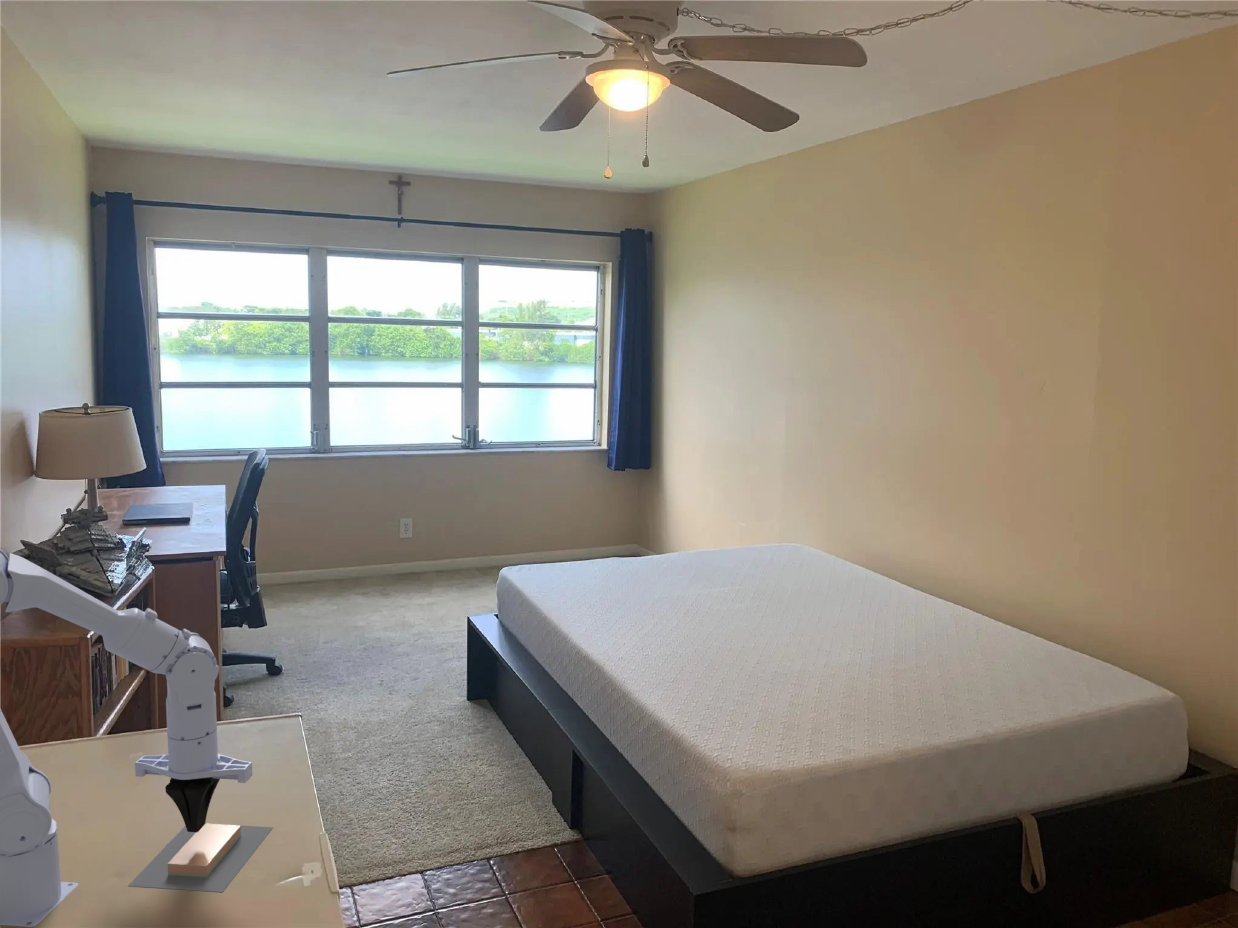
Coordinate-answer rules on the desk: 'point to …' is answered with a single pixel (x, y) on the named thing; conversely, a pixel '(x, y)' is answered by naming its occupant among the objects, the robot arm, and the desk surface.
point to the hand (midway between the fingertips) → (196, 827)
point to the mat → (217, 879)
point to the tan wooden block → (204, 850)
